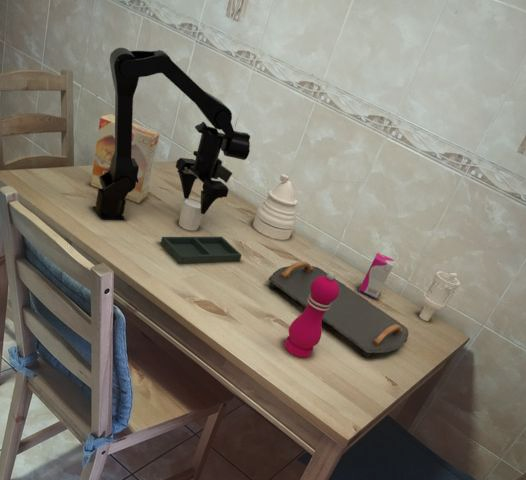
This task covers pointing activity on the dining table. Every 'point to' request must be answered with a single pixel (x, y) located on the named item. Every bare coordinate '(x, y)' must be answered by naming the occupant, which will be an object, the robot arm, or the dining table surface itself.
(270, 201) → the honey pot
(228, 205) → the dining table surface
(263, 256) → the dining table surface
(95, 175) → the coffeecake box
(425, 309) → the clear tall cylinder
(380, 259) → the supplement box
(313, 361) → the dining table surface
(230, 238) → the dining table surface
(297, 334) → the pepper mill
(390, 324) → the serving tray
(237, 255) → the divided green tray
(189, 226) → the shot glass
